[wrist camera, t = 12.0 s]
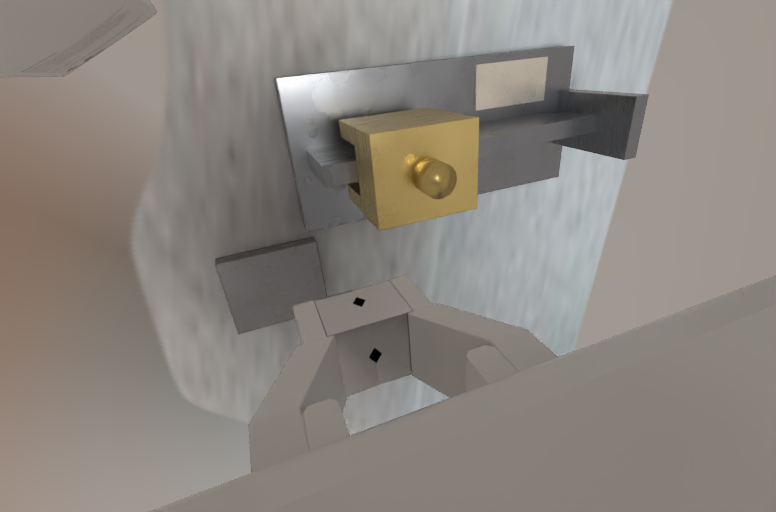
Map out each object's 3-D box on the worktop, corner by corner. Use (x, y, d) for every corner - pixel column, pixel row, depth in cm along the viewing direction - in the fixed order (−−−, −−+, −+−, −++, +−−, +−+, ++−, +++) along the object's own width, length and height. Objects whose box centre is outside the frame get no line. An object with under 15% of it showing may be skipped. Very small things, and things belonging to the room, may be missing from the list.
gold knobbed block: (430, 182, 27) (491, 216, 21) (349, 198, 26) (388, 240, 20) (428, 107, 25) (494, 120, 19) (338, 120, 23) (378, 139, 17)
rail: (548, 173, 35) (626, 199, 28) (304, 226, 29) (328, 275, 22) (562, 46, 30) (659, 40, 23) (274, 77, 24) (292, 82, 17)
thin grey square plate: (326, 302, 32) (328, 308, 31) (238, 326, 30) (238, 334, 29) (313, 236, 29) (316, 241, 28) (215, 258, 27) (215, 265, 26)
